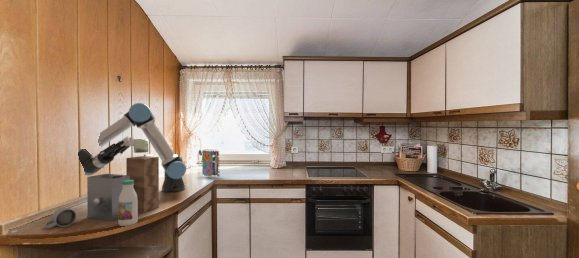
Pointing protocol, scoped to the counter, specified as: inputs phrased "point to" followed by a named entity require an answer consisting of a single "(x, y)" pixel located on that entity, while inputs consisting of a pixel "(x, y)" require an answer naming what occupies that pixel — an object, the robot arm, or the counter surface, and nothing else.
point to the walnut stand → (145, 180)
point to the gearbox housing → (104, 195)
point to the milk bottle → (127, 204)
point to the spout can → (138, 145)
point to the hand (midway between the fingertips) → (130, 138)
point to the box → (210, 163)
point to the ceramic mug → (62, 218)
